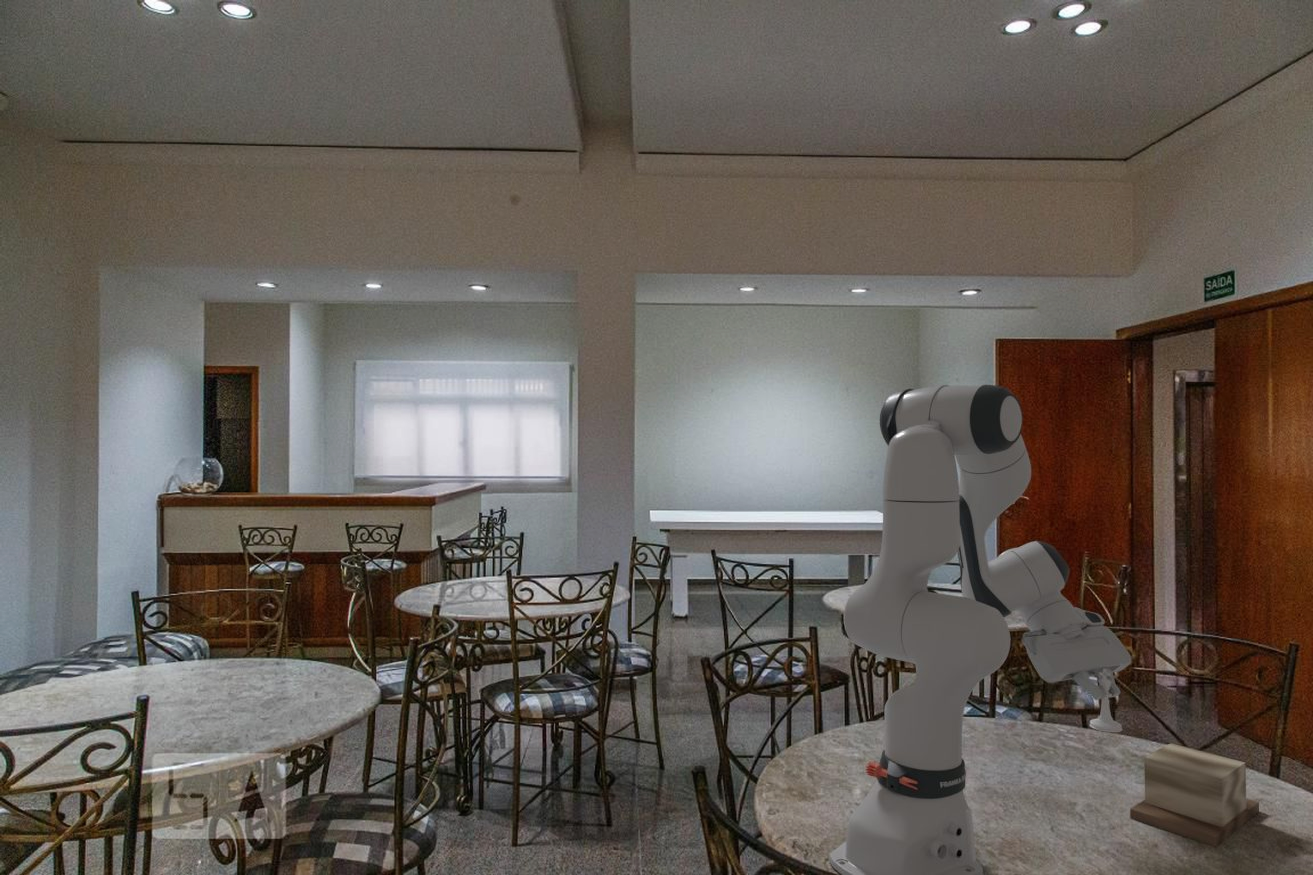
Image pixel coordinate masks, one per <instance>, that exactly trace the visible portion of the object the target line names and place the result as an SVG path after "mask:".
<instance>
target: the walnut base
mask: <svg viewBox="0 0 1313 875" xmlns="http://www.w3.org/2000/svg"><path fill="white" fill-rule="evenodd" d="M1143 768H1144V799H1143V800H1142V801H1140V802H1139V803H1137V804H1136V805H1134V806H1132V807H1130V808H1129V809H1130V810H1129V811H1130V812H1129V815H1130V816H1129V818H1130V819H1132V820H1134V821H1138V822H1141V823H1144V824H1147V825H1150V826H1153V827H1156V828H1158V829H1162V830H1165V831H1167V832H1171V833H1174V834H1176V835H1179V836H1182V837H1185V838H1188V839H1191V840H1194V841H1197V842H1199V843H1202V844H1206V845H1208V846H1211V847H1215V848H1217V847H1218V846H1219V845H1220V844H1221V843H1223V842H1224V841H1225V840H1226V839H1228V838H1229V837H1230V836H1231V835H1232V834H1234V832H1236V831H1237V830H1238V829H1240V828H1241V827H1242V826H1243V825H1244V824H1245V823H1247V822H1248V821H1249V820H1250V819H1252V818H1253V817H1254V816H1255V815H1257V814H1258V813H1259V812H1260V801H1256V800H1252V799H1249V798H1247V780H1246V779H1247V778H1246V777H1247V774H1246V773H1247V772H1246V770H1247V769H1246V762H1244V761H1241V760H1237V759H1234V758H1233V759H1232V758H1230V757H1224V756H1221V755H1219V754H1215V753H1211V752H1207V751H1201V750H1198V749H1195V748H1192V747H1191V748H1190V747H1187V746H1183V745H1179V744H1176V743H1171V742H1170V743H1169V744H1167V745H1164V746H1163V747H1161V748H1159V749H1157V750H1156V751H1154V752H1152V753H1150V754H1148V755H1146V756H1145V757H1144V766H1143ZM1256 813H1257V814H1256Z"/></svg>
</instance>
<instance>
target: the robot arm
mask: <svg viewBox="0 0 1313 875" xmlns="http://www.w3.org/2000/svg"><path fill="white" fill-rule="evenodd" d="M1023 423H1024V421H1023V410H1022V406H1021V403H1020V401H1019V398H1018V397H1017V396H1016V395H1015V394H1014V393H1013V392H1011V390H1010V389H1008V388H1007V387H1004V386H1001V385H1000V386H999V385H994V384H982V385H981V386H979V385H950V384H949V385H948V384H945V385H944V384H942V385H934V386H927V387H921V388H915V389H914V388H907V389H903V390H900V391H897V392H895V393H892V394H890V395H889V396H888V398H886V400H885V402H884V404H883V405H882V407H881V411H880V414H879V428H880V429H879V430H880V432H881V435H882V437H883V440H884V442H885V443H886V445H887V446H888V448H887V452H886V456H885V463H884V470H883V472H884V473H883V483H882V484H883V485H882V531H881V532H882V534H881V535H882V536H881V546H880V551H879V552H880V553H879V557H878V559H877V563H876V566H875V567H874V569H873V571H872V572H871V575H870V577H869V578H868V580H866V582H865V583H864V584H863V585H861V586H860V587H859V588H858V589H856V590H855V591H854V592H853V593H852V594H851V595H850V596H849V598H848V599H847V601H846V603H845V606H844V610H843V624H844V629H845V630H844V631H845V632H846V634H847V637H848V639H849V640H850V641H851V642H852V643H853V644H854V645H856V646H858V647H860V648H862V649H864V650H866V651H867V652H870V653H873V654H875V655H877V656H880V657H884V658H889V659H893V660H897V661H898V660H899V661H902V662H907V663H911V664H914V665H915V678H914V681H913V684H910V685H907V686H904V687H902V688H899V689H897V690H895V691H894V692H893V693H892V694H891V695H890V696H889V697H888V699H887V701H886V703H885V704H884V749H883V750H882V753H881V756H880V758H879V763H876V762H874V761H869V762H867V765H866V766H865V773H866V775H867V776H869V777H873V778H876V779H877V780H876V782H875V784H874V785H873V786H872V788H871V789H870V790H869V791H868V794H866V796H865V797H864V798H863V800H862V802H861V803H860V804H859V806H858V807H857V808H856V809H855V811H854V812H853V814H852V815H851V817H850V818H849V820H848V823H847V828H846V829H847V830H846V838H845V841H844V842H843V843H841V844H840V845H838V846H837V847H836V848H835V849H834V850H832V851H831V852H830V853H829V856H828V857H829V858H828V861H829V863H830V865H831V866H832V867H833V868H834V869H835V871H836V872H838V873H839V874H841V875H984V869H983V868H984V867H983V866H982V865H981V864H980V862H979V861H978V860H977V854H976V852H977V851H976V843H975V833H974V822H973V815H972V812H971V809H970V807H969V805H968V802H967V799H966V797H965V794H964V789H965V788H966V777H967V771H966V763H965V760H964V759H963V756H962V755H963V752H962V748H963V722H964V713H965V708H966V706H967V705H966V704H967V702H968V700H969V698H970V695H971V694H972V692H973V690H974V689H975V688H976V687H977V685H978V684H979V683H980V682H981V681H982V680H983V679H985V678H987V677H988V676H989V675H993V673H995V672H996V671H997V670H999V669H1000V668H1001V667H1002V666H1003V664H1004V662H1005V661H1006V659H1007V657H1008V655H1009V653H1010V648H1011V633H1010V628H1009V626H1008V623H1007V620H1006V619H1005V618H1006V617H1007V616H1009V615H1012V613H1014V612H1016V611H1017V612H1019V614H1020V615H1021V617H1022V619H1023V620H1024V623H1025V625H1026V627H1027V628H1028V630H1027V631H1025V632H1023V634H1022V637H1021V643H1022V644H1023V645H1024V647H1025V649H1026V653H1027V656H1028V658H1029V659H1030V662H1031V663H1032V665H1033V667H1034V669H1035V670H1036V672H1037V674H1038V675H1039V677H1040V678H1041V679H1042V680H1043V681H1045V682H1046V683H1048V684H1049V683H1050V684H1051V683H1055V682H1063V681H1067V680H1074V681H1075V683H1076V684H1077V685H1078V686H1080V687H1081V688H1082V689H1084V690H1085V691H1086V692H1088V693H1089V694H1090V695H1091V697H1092V698H1093V699H1094V701H1099V700H1102V699H1103V698H1104V697H1106V695H1107V693H1106V691H1104V689H1103V687H1102V686H1100V685H1098V684H1097V683H1096V682H1094V681H1093V680H1092V679H1091V678H1090V677H1093V676H1094V677H1095V676H1096V677H1097V678H1098V680H1099V679H1102V678H1103V676H1101V675H1099V672H1103V669H1106V673H1110V676H1107V679H1108V680H1110V681H1111V685H1110V689H1109V691H1108V692H1109V693H1110V694H1112V697H1111V698H1116V697H1117V696H1119V695H1120V694H1121V690H1120V688H1119V687H1118V685H1117V684H1116V682H1115V677H1114V673H1118V672H1122V671H1123V670H1125V669H1126V668H1127V667H1128V666H1129V665H1130V664H1131V663H1132V657H1131V654H1130V652H1129V650H1128V649H1126V646H1124V644H1123V643H1122V641H1121V640H1120V639H1119V638H1118V637H1117V635H1116V634H1115V633H1114V632H1113V631H1112V630H1111V629H1110V628H1108V627H1107V626H1105V623H1106V620H1105V619H1104V618H1103V617H1102V615H1101V614H1099V613H1096V612H1093V611H1090V610H1084V609H1082V608H1079V607H1076V606H1075V607H1074V605H1073V604H1072V603H1071V602H1070V600H1068V599H1067V598H1066V597H1065V596H1064V595H1063V594H1062V593H1061V591H1062V590H1063V589H1065V587H1066V585H1067V582H1068V579H1069V576H1070V571H1071V570H1070V567H1069V565H1068V563H1067V562H1066V561H1065V559H1064V557H1062V555H1061V554H1060V552H1059V551H1058V550H1057V549H1056V548H1055V547H1054V546H1053V545H1051V544H1049V543H1046V542H1044V541H1041V540H1034V541H1030V542H1027V543H1025V544H1022V545H1021V546H1019V547H1013V548H1010V549H1007V550H1004V551H1003V552H1002V553H1000V554H999V555H998V556H997V557H996V558H993V559H990V561H988V553H987V548H986V541H985V537H986V534H987V531H988V529H989V528H990V527H991V525H992V524H993V523H994V521H996V519H997V518H998V517H999V516H1000V515H1001V514H1003V513H1004V512H1005V511H1006V510H1007V509H1008V508H1009V507H1010V506H1012V505H1013V504H1014V503H1016V501H1017V500H1019V499H1020V497H1022V496H1023V494H1024V493H1025V491H1026V490H1027V488H1028V486H1029V483H1030V482H1031V477H1032V464H1031V460H1030V457H1029V453H1028V449H1027V447H1026V444H1025V441H1024V439H1023V435H1022V434H1021V433H1022V429H1023ZM957 465H958V467H957ZM958 469H959V473H960V474H959V473H958ZM958 474H959V475H958ZM959 476H960V477H959ZM956 554H957V556H958V563H959V569H960V579H959V581H960V583H959V585H960V589H961V594H962V596H958V595H952V594H946V593H945V594H944V593H938V592H932V591H931V592H930V591H929V590H928V582H929V578H930V576H931V573H932V571H933V570H935V569H937V568H939V567H942V566H943V565H946V564H948V563H949V562H950V561H952V560H953V559H954V558H955V556H956Z"/></svg>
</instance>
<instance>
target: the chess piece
mask: <svg viewBox="0 0 1313 875" xmlns="http://www.w3.org/2000/svg"><path fill="white" fill-rule="evenodd" d="M1099 675H1101V676H1103V678H1102V679H1099V678H1098V680H1097V682H1098V684H1099V685H1098V686H1102V687H1103V689H1104V691H1106V693H1107V695H1106V697H1104V698H1103V699H1101V705H1100V715H1098V716H1097V718H1092V719H1091V720H1089V727H1090V728H1091V729H1094V730H1097V731H1100V732H1106V733H1120V732H1122V731H1123V726H1122V724H1121V723H1119V722H1118V721H1116V720H1114V717H1112V715H1111V714H1112V713H1111V708H1110V701H1109V698H1113V697H1112V694H1110V693H1109V692H1108V691H1109V689H1110V685H1111V681H1110V680H1108V679H1107V676H1110V673H1106V669H1103V672H1099Z"/></svg>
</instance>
